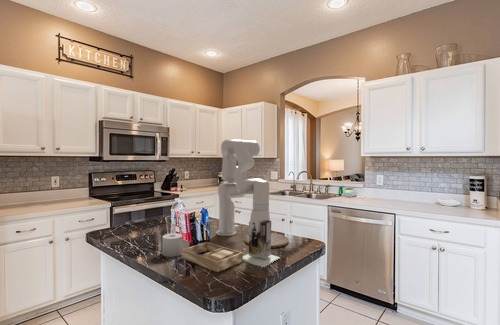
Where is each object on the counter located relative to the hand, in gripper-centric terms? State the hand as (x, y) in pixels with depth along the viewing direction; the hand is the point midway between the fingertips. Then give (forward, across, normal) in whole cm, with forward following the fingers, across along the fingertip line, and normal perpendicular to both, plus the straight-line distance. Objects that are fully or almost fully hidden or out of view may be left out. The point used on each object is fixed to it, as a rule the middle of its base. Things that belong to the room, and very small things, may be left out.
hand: (259, 244), depth 127 cm
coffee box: (+5, 0, 0) cm, 5 cm away
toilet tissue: (+8, +21, -36) cm, 42 cm away
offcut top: (+5, +15, -10) cm, 19 cm away
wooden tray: (+7, +15, -16) cm, 23 cm away
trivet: (+8, -25, -14) cm, 30 cm away
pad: (+7, 0, 0) cm, 7 cm away
